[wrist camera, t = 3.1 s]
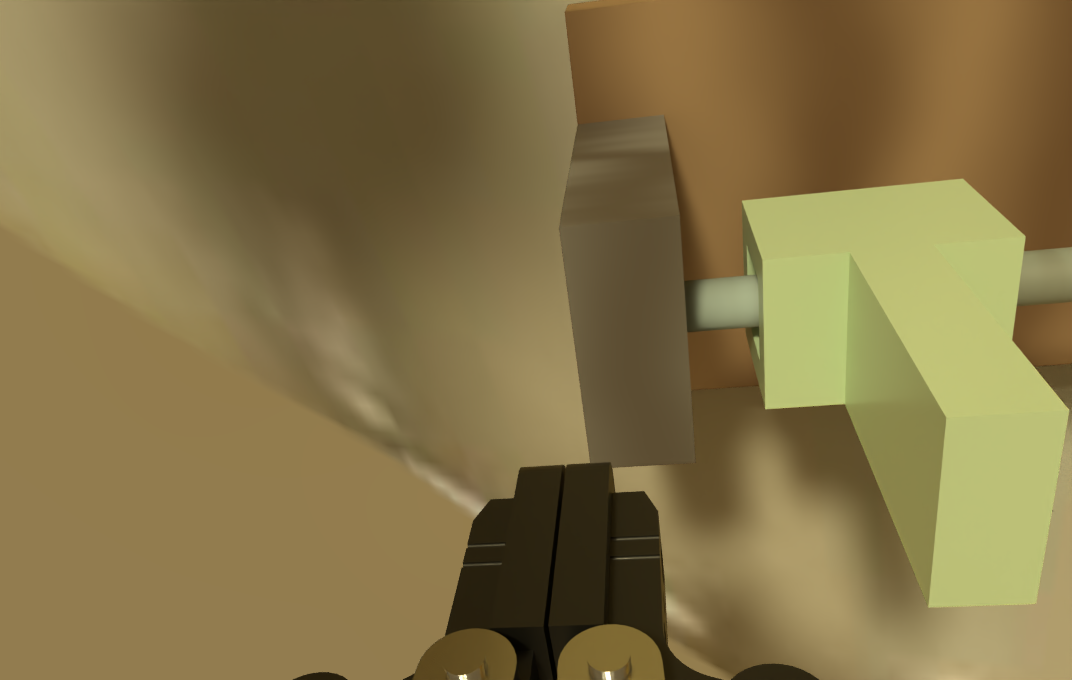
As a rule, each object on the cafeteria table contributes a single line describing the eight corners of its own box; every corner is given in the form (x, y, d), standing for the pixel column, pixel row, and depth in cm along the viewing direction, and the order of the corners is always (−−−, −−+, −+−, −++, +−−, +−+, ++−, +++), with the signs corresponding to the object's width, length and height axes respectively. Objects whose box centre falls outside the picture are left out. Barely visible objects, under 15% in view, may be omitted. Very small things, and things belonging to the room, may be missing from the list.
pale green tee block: (745, 333, 23) (817, 611, 14) (741, 200, 21) (820, 425, 12) (950, 317, 22) (1154, 600, 13) (962, 178, 20) (1205, 401, 12)
